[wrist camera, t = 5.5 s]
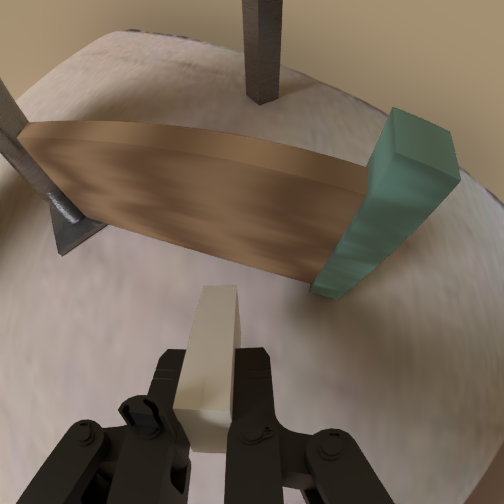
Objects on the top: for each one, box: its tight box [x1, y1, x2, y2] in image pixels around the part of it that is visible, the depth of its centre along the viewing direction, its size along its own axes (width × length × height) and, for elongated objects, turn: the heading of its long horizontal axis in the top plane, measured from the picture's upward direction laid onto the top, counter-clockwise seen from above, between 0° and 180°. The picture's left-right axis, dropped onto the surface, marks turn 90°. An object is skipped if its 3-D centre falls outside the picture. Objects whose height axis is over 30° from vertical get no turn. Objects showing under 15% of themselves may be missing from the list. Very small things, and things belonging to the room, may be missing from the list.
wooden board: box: [17, 107, 461, 300], centre depth 13 cm, size 20×2×13 cm, turn 73°
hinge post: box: [0, 78, 108, 256], centre depth 14 cm, size 6×6×16 cm
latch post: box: [242, 0, 283, 105], centre depth 19 cm, size 2×2×16 cm
